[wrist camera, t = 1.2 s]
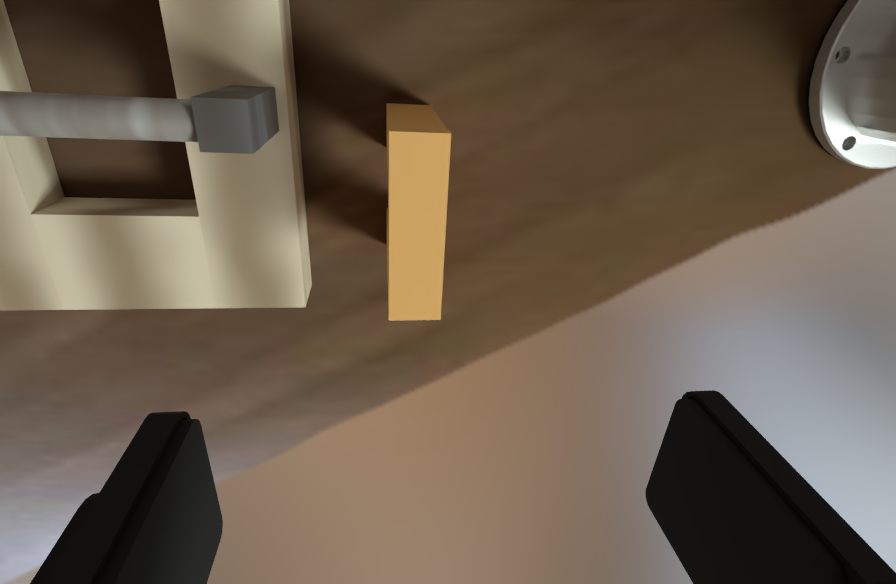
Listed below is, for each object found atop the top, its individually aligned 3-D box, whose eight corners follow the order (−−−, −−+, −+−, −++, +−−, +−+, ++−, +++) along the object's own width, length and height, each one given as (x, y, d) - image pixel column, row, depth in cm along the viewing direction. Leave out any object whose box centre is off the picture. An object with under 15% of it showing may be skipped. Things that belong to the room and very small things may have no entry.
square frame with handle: (280, -108, 22) (228, -184, 15) (311, 284, 31) (289, 361, 24) (-179, -154, 20) (-523, -274, 12) (0, 285, 29) (-134, 372, 21)
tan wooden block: (429, 104, 27) (451, 133, 19) (424, 244, 31) (440, 319, 23) (386, 103, 27) (389, 131, 18) (386, 244, 31) (388, 320, 22)
